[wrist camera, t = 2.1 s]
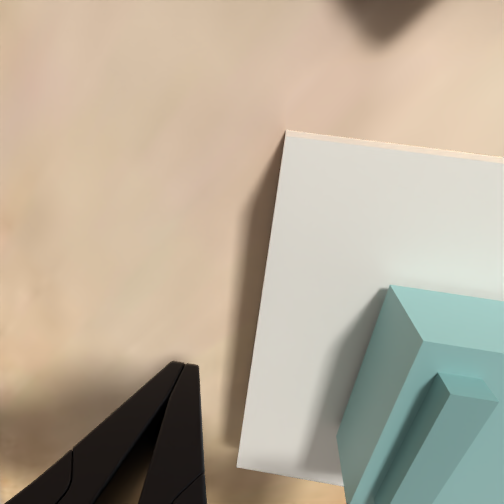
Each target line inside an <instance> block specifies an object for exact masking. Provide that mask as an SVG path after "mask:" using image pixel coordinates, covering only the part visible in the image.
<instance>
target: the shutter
mask: <svg viewBox="0 0 504 504" xmlns="http://www.w3.org/2000/svg"><path fill="white" fill-rule="evenodd" d="M336 438H337V444H338V451H339V457H340V464H341V471H342V477H343V484H344V490H345V497H346V503H347V504H504V301H498V300H491V299H484V298H478V297H471V296H464V295H457V294H451V293H444V292H437V291H430V290H423V289H417V288H410V287H403V286H396V285H389V288H388V291H387V294H386V297H385V300H384V302H383V305H382V308H381V311H380V314H379V317H378V319H377V322H376V325H375V328H374V331H373V333H372V336H371V339H370V342H369V345H368V348H367V350H366V353H365V356H364V359H363V362H362V364H361V367H360V370H359V373H358V376H357V379H356V381H355V384H354V387H353V390H352V393H351V395H350V398H349V401H348V404H347V407H346V410H345V412H344V415H343V418H342V421H341V424H340V427H339V429H338V432H337V435H336Z"/></svg>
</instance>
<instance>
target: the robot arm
mask: <svg viewBox="0 0 504 504" xmlns="http://www.w3.org/2000/svg"><path fill="white" fill-rule="evenodd" d="M204 474H205V469H204V450H203V432H202V414H201V396H200V378H199V366H198V365H195V364H189V363H187V364H185V363H183V362H177V361H172V362H170V363H169V364H168V365H167V366H166V367H165V368H163V369H162V370H161V371H160V372H159V373H158V374H157V375H155V376H154V377H153V378H152V379H151V380H150V381H149V382H147V383H146V384H145V385H144V386H143V387H142V388H141V389H139V390H138V391H137V392H136V393H135V394H134V395H133V396H131V397H130V398H129V399H128V400H127V401H126V402H125V403H123V404H122V405H121V406H120V407H119V408H118V409H117V410H115V411H114V412H113V413H112V414H111V415H110V416H109V417H107V418H106V419H105V420H104V421H103V422H102V423H101V424H99V425H98V426H97V427H96V428H95V429H94V430H93V431H91V432H90V433H89V434H88V435H87V436H86V437H85V438H84V439H82V440H81V441H80V442H79V443H78V444H77V445H76V446H74V447H73V451H72V450H70V451H68V452H67V453H66V454H65V455H64V456H63V457H62V458H60V459H59V460H58V461H57V462H56V463H55V464H54V465H52V466H51V467H50V468H49V469H48V470H46V471H45V472H44V473H43V474H42V475H40V476H39V477H38V478H37V479H36V480H34V481H33V482H32V483H31V484H29V485H28V486H27V487H25V488H24V489H23V490H22V491H20V492H19V493H18V494H16V495H15V496H14V497H13V498H11V499H10V500H9V501H7V502H6V503H5V504H207V498H206V484H205V475H204Z"/></svg>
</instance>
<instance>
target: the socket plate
mask: <svg viewBox="0 0 504 504" xmlns="http://www.w3.org/2000/svg"><path fill="white" fill-rule="evenodd" d="M389 285H396V286H403V287H410V288H417V289H423V290H430V291H437V292H444V293H451V294H457V295H464V296H471V297H478V298H484V299H491V300H498V301H504V157H499V156H491V155H483V154H475V153H467V152H459V151H451V150H443V149H435V148H428V147H420V146H412V145H404V144H396V143H388V142H380V141H372V140H364V139H356V138H348V137H340V136H332V135H324V134H316V133H309V132H301V131H293V130H286V133H285V139H284V146H283V153H282V160H281V166H280V173H279V180H278V187H277V194H276V200H275V207H274V214H273V221H272V227H271V234H270V241H269V248H268V254H267V261H266V268H265V275H264V282H263V288H262V295H261V302H260V309H259V315H258V322H257V329H256V336H255V342H254V349H253V356H252V363H251V369H250V376H249V383H248V390H247V397H246V403H245V410H244V417H243V424H242V431H241V438H240V445H239V453H238V460H237V467H238V468H243V469H249V470H254V471H260V472H266V473H271V474H277V475H282V476H288V477H294V478H299V479H305V480H310V481H316V482H322V483H327V484H333V485H338V486H344V484H343V477H342V471H341V464H340V457H339V451H338V444H337V438H336V435H337V432H338V429H339V427H340V424H341V421H342V418H343V415H344V412H345V410H346V407H347V404H348V401H349V398H350V395H351V393H352V390H353V387H354V384H355V381H356V379H357V376H358V373H359V370H360V367H361V364H362V362H363V359H364V356H365V353H366V350H367V348H368V345H369V342H370V339H371V336H372V333H373V331H374V328H375V325H376V322H377V319H378V317H379V314H380V311H381V308H382V305H383V302H384V300H385V297H386V294H387V291H388V288H389Z"/></svg>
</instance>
